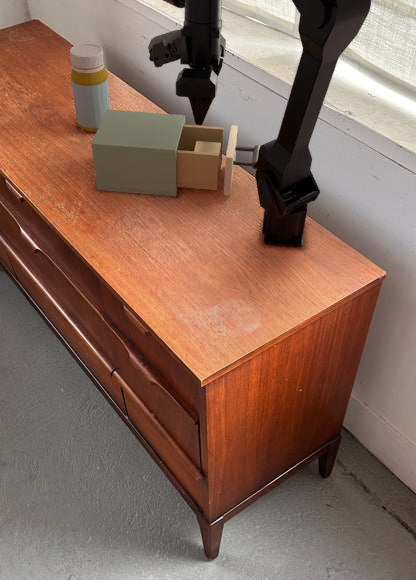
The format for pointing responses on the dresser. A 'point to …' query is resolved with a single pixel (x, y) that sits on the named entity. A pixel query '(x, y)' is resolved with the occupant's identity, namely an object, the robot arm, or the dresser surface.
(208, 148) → the block
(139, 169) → the cabinet
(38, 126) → the dresser surface
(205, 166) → the drawer
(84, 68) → the bottle
